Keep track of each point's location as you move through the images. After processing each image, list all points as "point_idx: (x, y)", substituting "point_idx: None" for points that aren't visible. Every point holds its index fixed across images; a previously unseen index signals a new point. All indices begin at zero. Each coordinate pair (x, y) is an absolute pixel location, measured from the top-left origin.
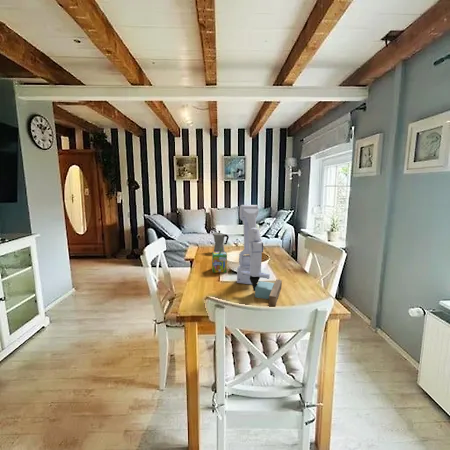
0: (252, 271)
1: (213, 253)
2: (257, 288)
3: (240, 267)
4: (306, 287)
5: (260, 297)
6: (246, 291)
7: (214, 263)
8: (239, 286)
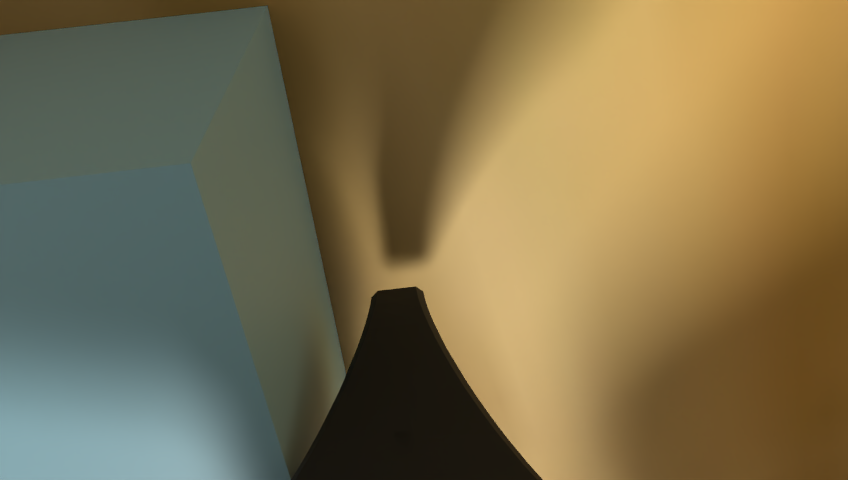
0: None
1: None
2: (61, 164)
3: None
4: None
5: (61, 32)
6: (628, 285)
7: None
8: (826, 446)
